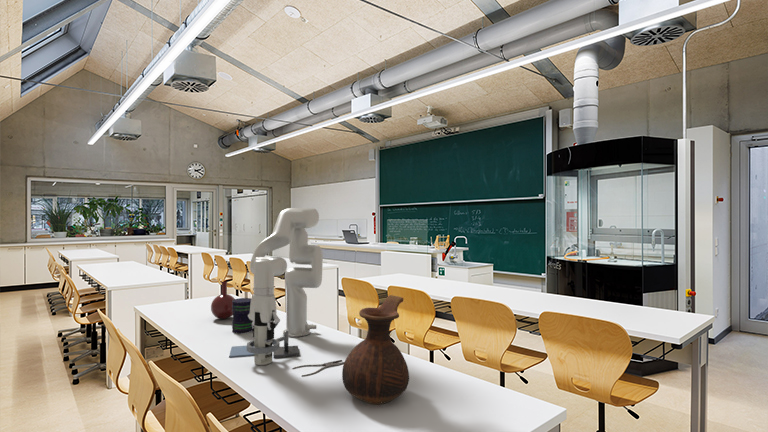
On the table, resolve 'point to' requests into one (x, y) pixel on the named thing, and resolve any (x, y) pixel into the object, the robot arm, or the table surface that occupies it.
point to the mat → (240, 351)
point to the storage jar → (241, 316)
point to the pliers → (326, 365)
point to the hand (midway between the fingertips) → (263, 337)
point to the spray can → (261, 341)
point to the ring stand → (276, 348)
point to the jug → (377, 358)
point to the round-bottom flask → (222, 304)
